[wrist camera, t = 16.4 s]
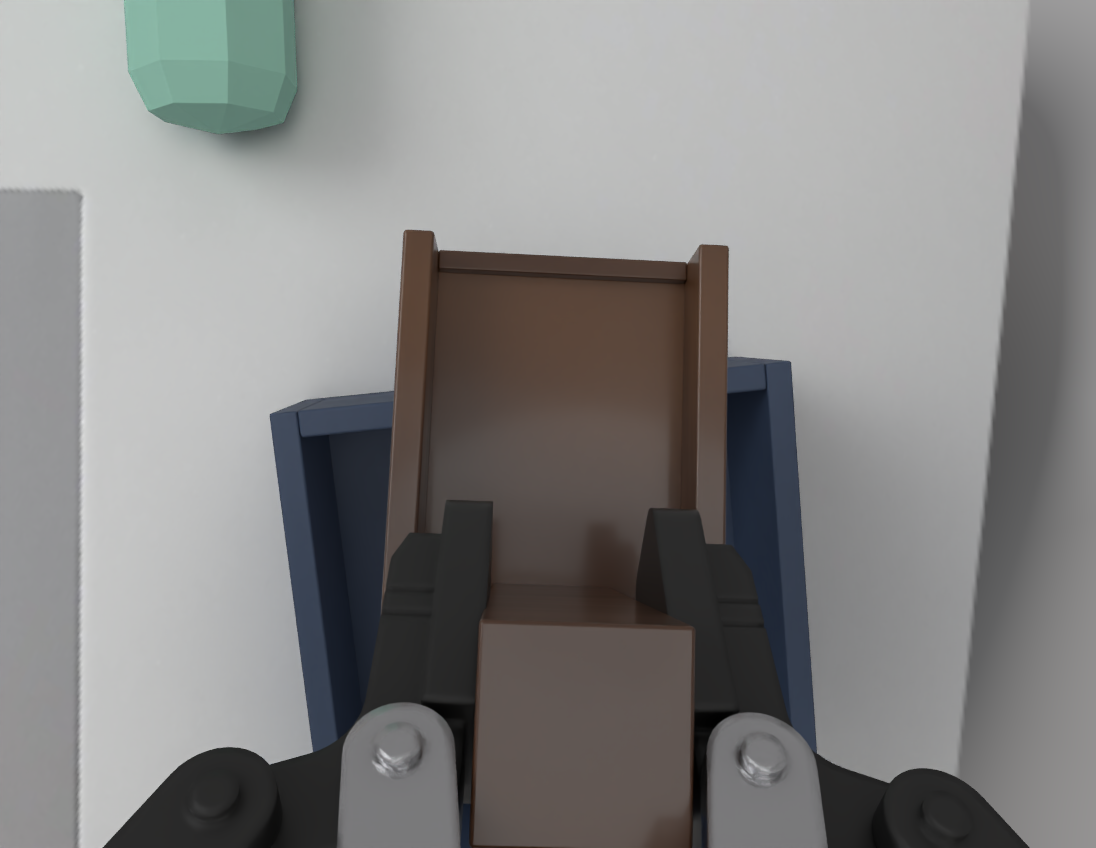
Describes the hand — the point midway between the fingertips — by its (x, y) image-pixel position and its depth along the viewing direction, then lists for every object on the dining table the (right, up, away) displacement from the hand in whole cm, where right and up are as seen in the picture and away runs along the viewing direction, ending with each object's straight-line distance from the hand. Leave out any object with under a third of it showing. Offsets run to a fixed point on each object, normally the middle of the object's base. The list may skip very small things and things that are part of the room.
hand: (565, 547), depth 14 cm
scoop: (0, +1, +5) cm, 5 cm away
